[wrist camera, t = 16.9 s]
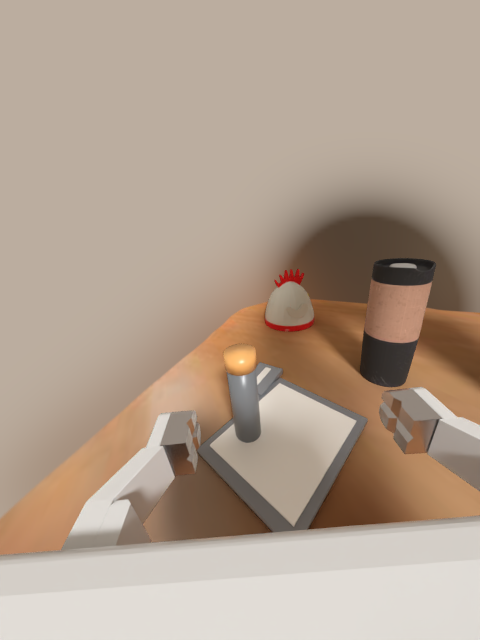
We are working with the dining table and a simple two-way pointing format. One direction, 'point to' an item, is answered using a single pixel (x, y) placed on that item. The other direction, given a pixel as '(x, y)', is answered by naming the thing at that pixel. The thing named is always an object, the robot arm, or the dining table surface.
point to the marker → (243, 390)
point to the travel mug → (394, 318)
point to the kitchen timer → (289, 305)
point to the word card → (266, 377)
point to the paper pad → (286, 455)
